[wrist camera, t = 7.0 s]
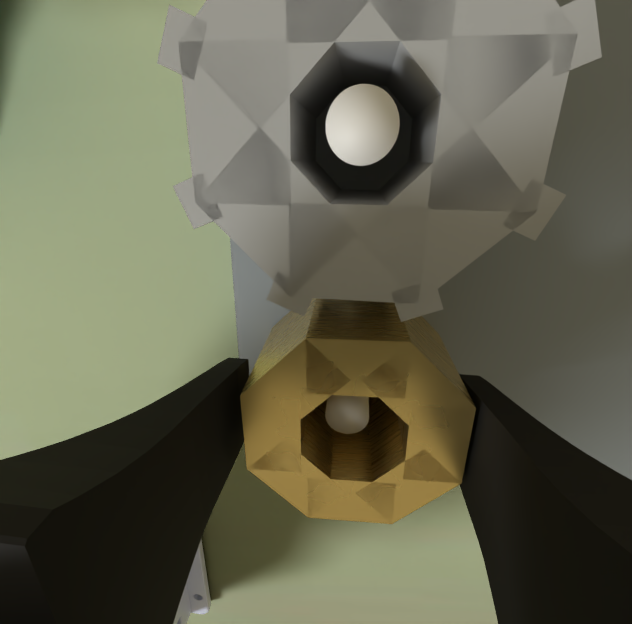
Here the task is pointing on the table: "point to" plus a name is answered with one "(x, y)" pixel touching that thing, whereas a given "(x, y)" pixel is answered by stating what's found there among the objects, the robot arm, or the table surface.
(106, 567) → the robot arm
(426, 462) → the brass gear
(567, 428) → the gear board
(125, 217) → the table surface
